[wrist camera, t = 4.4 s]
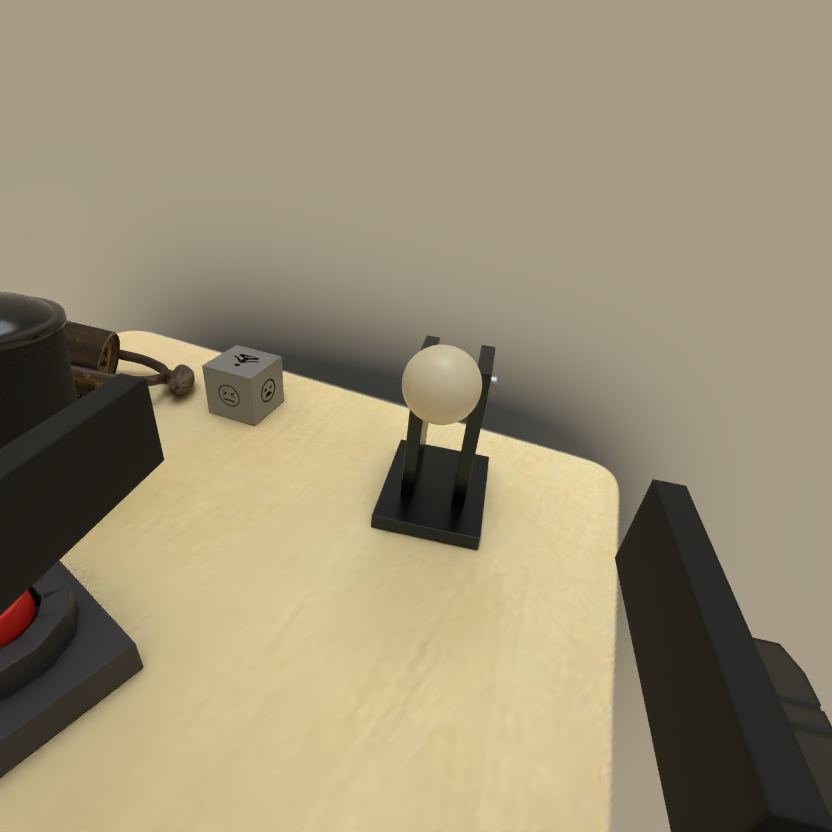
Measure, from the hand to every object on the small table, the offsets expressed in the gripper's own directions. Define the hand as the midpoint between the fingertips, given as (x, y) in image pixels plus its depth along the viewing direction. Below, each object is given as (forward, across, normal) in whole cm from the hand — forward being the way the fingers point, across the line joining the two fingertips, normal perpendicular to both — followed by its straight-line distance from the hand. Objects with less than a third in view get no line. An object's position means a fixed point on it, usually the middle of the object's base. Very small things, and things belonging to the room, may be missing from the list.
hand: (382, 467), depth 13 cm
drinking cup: (+12, -26, -19) cm, 35 cm away
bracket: (+20, +1, -19) cm, 28 cm away
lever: (+15, 0, -7) cm, 16 cm away
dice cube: (+28, -19, -19) cm, 39 cm away
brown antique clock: (+26, -31, -19) cm, 45 cm away
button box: (+1, -19, -19) cm, 26 cm away
